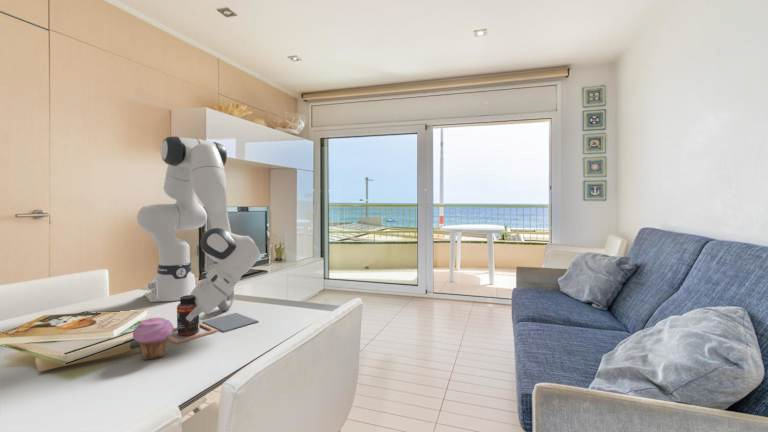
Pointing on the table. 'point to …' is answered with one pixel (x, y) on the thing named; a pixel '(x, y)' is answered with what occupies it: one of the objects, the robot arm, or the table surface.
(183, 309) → the supplement bottle
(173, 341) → the frame
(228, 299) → the white toy tire
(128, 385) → the table surface
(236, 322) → the mat
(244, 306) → the table surface
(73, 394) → the table surface
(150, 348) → the cupcake
